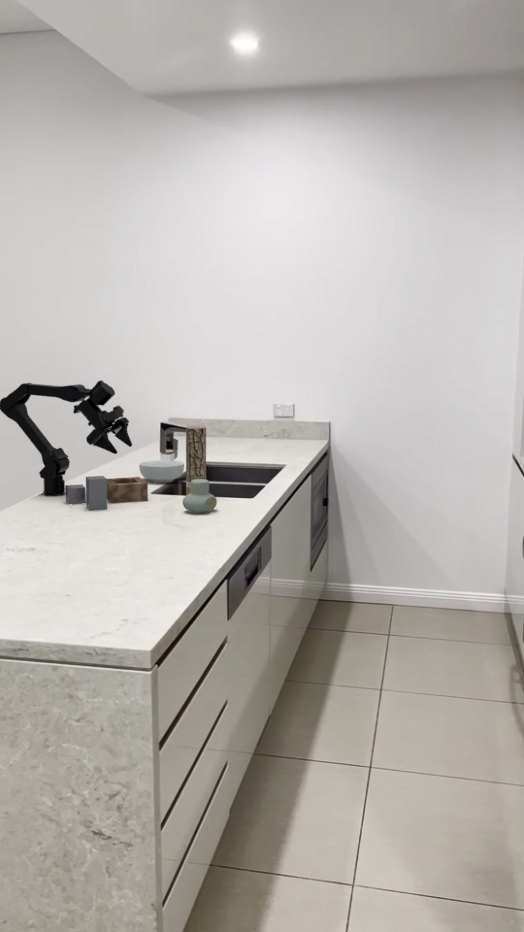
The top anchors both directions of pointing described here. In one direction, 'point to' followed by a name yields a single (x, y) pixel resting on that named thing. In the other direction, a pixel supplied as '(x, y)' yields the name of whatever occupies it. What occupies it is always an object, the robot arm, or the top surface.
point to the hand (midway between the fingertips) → (124, 449)
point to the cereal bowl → (161, 470)
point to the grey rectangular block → (96, 493)
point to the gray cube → (75, 494)
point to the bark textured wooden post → (195, 454)
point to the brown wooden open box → (127, 490)
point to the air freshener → (199, 497)
